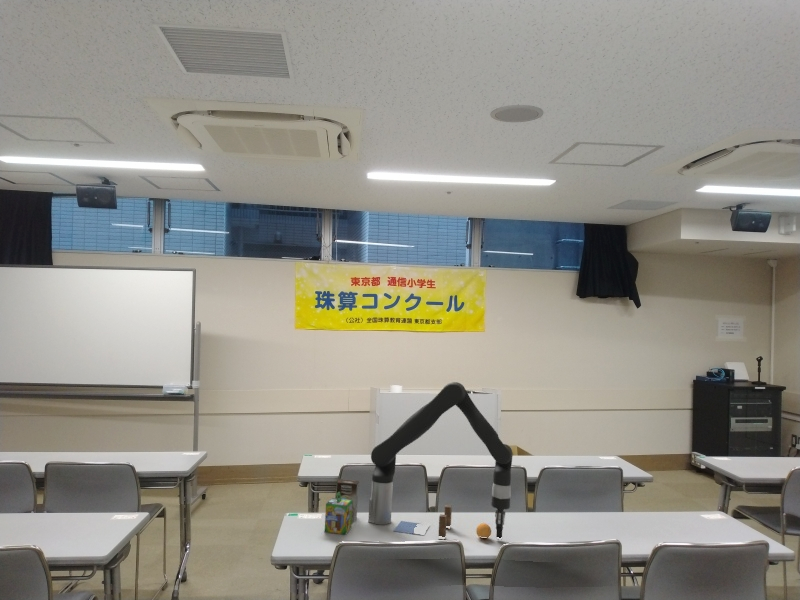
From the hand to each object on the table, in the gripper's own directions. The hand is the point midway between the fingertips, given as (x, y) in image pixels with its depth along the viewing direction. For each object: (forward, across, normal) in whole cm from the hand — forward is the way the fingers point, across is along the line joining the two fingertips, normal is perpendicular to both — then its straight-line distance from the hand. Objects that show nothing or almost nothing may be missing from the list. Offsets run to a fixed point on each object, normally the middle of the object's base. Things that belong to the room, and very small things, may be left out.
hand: (499, 538), depth 207 cm
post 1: (+1, +7, -22) cm, 23 cm away
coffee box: (+2, 0, -66) cm, 66 cm away
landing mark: (+1, 0, -36) cm, 36 cm away
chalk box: (+2, +14, -64) cm, 66 cm away
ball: (-2, 0, -6) cm, 7 cm away
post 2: (+1, -6, -22) cm, 23 cm away
